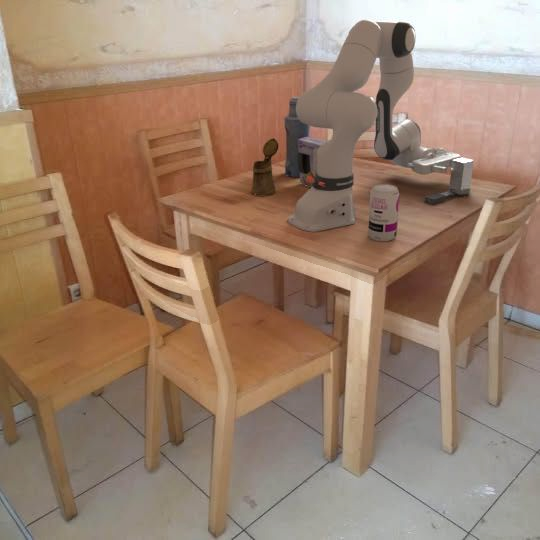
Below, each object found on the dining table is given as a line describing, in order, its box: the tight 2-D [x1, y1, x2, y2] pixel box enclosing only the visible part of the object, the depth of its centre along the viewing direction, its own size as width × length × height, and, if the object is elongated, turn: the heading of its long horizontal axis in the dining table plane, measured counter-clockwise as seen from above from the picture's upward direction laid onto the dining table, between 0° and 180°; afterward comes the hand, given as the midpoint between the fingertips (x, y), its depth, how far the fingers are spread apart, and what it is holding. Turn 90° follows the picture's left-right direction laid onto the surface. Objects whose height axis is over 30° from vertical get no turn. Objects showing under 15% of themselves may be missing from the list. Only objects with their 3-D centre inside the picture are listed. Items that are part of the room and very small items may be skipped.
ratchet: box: [424, 187, 471, 206], centre depth 192 cm, size 19×7×6 cm, turn 124°
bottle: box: [284, 96, 311, 178], centre depth 217 cm, size 10×10×30 cm
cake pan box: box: [298, 136, 326, 188], centre depth 203 cm, size 19×5×18 cm, turn 33°
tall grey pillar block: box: [448, 157, 475, 191], centre depth 193 cm, size 5×5×10 cm
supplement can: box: [367, 183, 400, 242], centre depth 161 cm, size 8×8×15 cm
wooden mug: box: [251, 137, 279, 196], centre depth 203 cm, size 9×14×18 cm, turn 150°
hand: (454, 168), depth 195 cm, fingers open, 8 cm apart
